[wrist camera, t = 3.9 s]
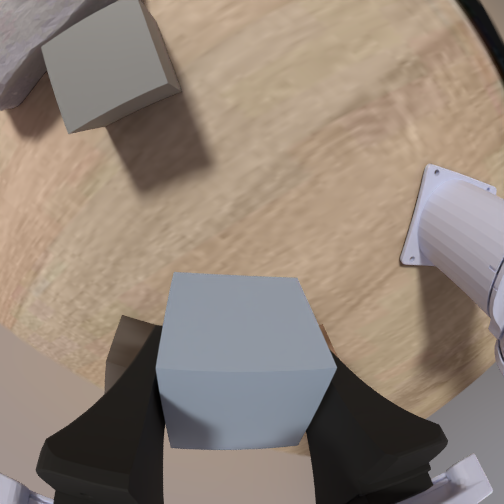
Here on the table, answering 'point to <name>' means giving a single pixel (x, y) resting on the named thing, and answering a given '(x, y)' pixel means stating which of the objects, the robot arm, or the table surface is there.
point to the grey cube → (109, 66)
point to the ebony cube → (125, 347)
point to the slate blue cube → (240, 362)
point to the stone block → (33, 40)
